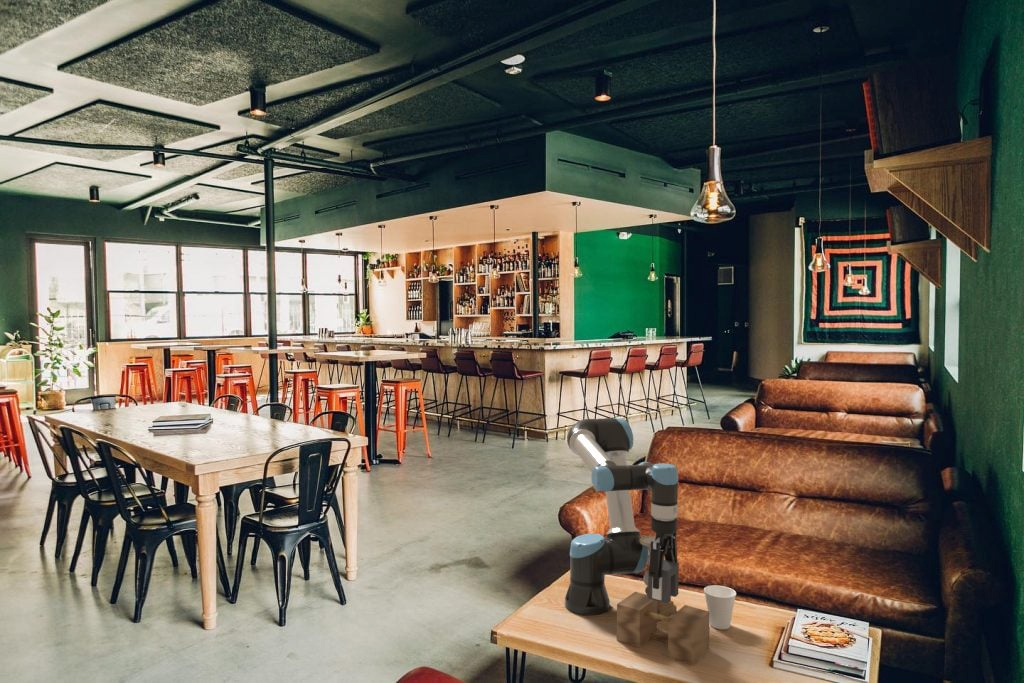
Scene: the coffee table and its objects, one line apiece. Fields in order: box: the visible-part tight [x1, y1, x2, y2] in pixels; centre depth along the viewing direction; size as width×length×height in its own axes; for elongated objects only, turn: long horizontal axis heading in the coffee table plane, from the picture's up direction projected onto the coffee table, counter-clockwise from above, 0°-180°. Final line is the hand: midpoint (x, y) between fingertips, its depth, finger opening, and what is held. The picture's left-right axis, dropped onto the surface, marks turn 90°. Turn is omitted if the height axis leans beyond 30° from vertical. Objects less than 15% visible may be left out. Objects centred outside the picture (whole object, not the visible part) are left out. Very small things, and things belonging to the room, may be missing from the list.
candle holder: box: [639, 535, 678, 622], centre depth 215 cm, size 11×11×24 cm
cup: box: [703, 584, 737, 630], centre depth 204 cm, size 10×10×11 cm
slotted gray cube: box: [647, 559, 680, 604], centre depth 190 cm, size 6×8×9 cm
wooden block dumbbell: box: [616, 591, 710, 666], centre depth 191 cm, size 24×12×11 cm, turn 52°
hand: (663, 593), depth 190 cm, fingers closed on slotted gray cube, 8 cm apart
